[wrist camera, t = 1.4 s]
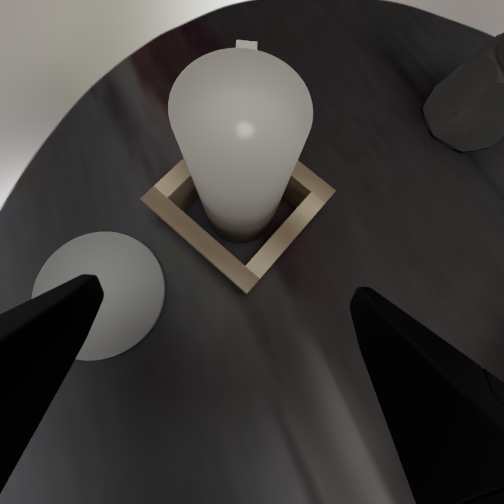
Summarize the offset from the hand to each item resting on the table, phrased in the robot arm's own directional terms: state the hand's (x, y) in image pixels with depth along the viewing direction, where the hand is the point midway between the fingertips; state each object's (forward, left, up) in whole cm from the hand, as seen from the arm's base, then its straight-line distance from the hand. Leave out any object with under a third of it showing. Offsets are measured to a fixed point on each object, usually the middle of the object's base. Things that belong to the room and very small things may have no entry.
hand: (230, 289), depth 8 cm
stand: (+6, +5, -13) cm, 16 cm away
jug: (+7, +6, -14) cm, 17 cm away
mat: (-8, +9, -14) cm, 18 cm away
